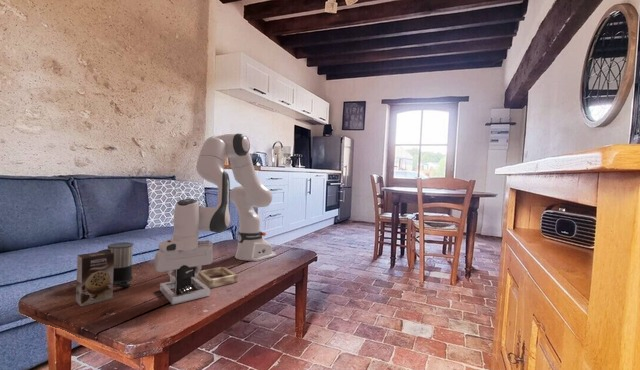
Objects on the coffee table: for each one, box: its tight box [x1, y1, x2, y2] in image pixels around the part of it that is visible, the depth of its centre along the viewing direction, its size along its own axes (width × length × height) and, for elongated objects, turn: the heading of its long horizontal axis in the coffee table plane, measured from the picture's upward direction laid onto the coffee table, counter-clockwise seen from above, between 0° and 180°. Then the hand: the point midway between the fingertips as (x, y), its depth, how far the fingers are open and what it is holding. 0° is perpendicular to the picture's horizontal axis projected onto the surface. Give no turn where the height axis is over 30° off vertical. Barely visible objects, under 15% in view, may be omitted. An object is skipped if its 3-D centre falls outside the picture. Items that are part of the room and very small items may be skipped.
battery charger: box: [173, 265, 196, 295], centre depth 111 cm, size 7×4×11 cm, turn 160°
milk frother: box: [97, 241, 134, 289], centre depth 117 cm, size 14×16×15 cm
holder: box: [159, 276, 211, 306], centre depth 111 cm, size 13×16×2 cm
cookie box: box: [75, 251, 114, 307], centre depth 101 cm, size 9×6×16 cm
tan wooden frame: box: [196, 266, 239, 289], centre depth 125 cm, size 12×14×3 cm
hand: (184, 279), depth 111 cm, fingers closed on battery charger, 7 cm apart
